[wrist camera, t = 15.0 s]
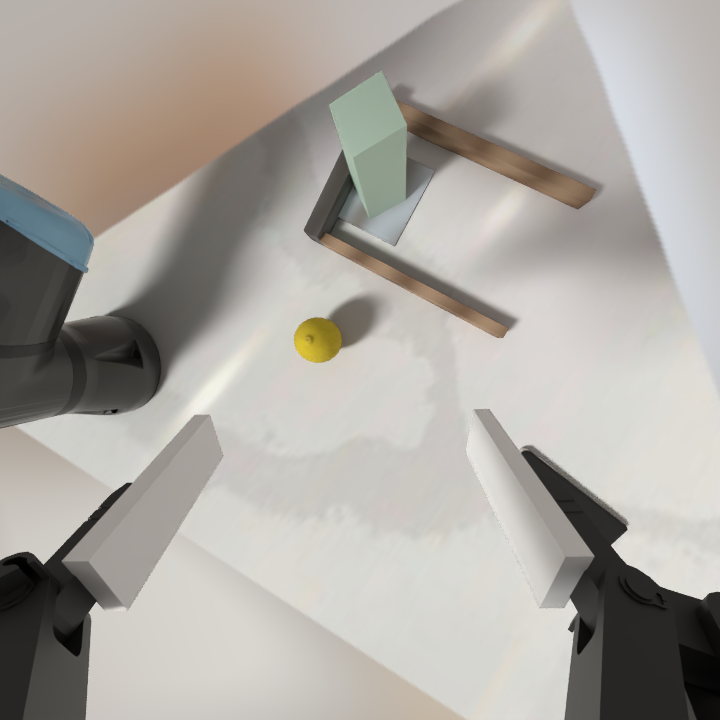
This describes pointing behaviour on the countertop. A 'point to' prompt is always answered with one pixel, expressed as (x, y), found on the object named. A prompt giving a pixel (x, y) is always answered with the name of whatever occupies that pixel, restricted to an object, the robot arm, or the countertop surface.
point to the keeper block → (373, 143)
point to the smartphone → (579, 499)
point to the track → (389, 225)
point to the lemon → (317, 340)
